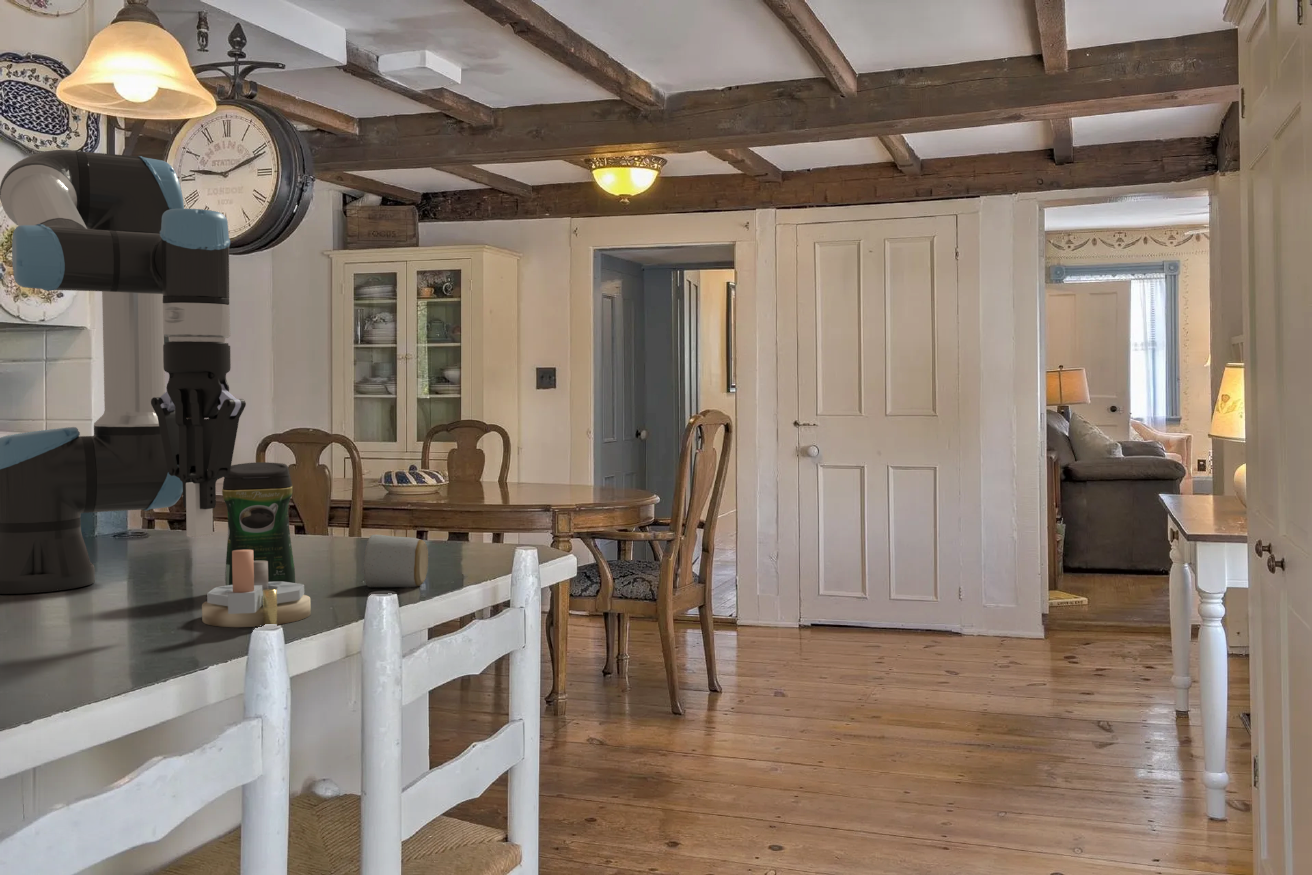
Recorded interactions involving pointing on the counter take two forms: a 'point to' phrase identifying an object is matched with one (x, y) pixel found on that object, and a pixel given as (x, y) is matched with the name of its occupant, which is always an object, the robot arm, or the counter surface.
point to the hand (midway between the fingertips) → (199, 535)
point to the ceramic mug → (395, 561)
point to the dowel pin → (270, 606)
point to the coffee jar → (260, 517)
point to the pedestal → (285, 611)
